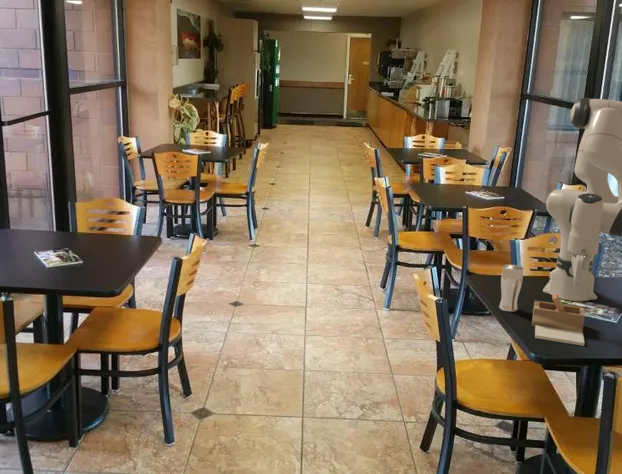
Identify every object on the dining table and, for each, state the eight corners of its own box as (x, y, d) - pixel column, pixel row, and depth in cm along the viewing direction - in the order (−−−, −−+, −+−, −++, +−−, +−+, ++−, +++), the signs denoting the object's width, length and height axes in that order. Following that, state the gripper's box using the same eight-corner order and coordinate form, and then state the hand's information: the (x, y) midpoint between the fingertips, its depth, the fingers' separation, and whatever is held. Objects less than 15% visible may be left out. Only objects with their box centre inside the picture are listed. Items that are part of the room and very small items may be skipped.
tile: (548, 296, 213) (556, 293, 212) (563, 325, 213) (571, 322, 212) (548, 300, 208) (557, 297, 207) (564, 331, 208) (572, 328, 207)
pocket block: (532, 317, 218) (534, 300, 216) (580, 324, 213) (582, 307, 212) (531, 326, 209) (534, 308, 208) (581, 334, 205) (584, 316, 203)
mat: (535, 328, 208) (535, 325, 208) (582, 335, 204) (582, 332, 204) (535, 338, 200) (535, 335, 200) (584, 345, 196) (584, 342, 195)
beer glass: (500, 303, 229) (505, 263, 226) (520, 308, 226) (526, 266, 222) (495, 309, 223) (500, 267, 220) (515, 313, 220) (521, 271, 217)
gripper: (596, 256, 193) (589, 300, 197) (591, 239, 212) (585, 280, 215) (573, 253, 195) (567, 297, 199) (570, 237, 214) (565, 277, 217)
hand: (576, 288), depth 207 cm, fingers closed
